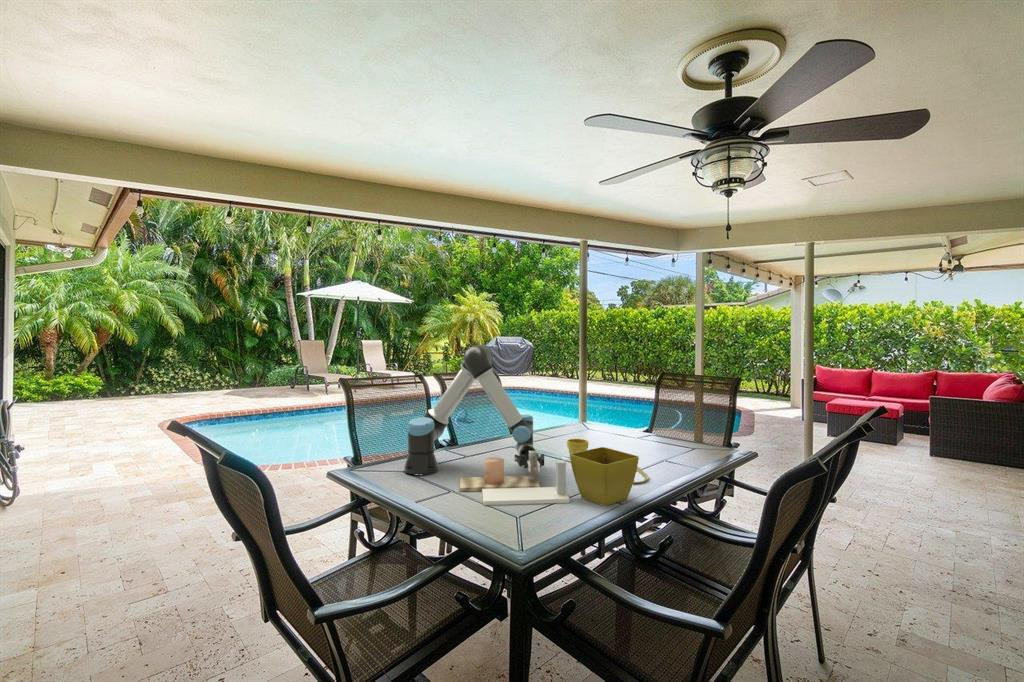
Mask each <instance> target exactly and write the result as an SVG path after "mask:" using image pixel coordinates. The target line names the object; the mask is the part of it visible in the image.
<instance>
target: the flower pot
mask: <svg viewBox="0 0 1024 682" xmlns="http://www.w3.org/2000/svg"><path fill="white" fill-rule="evenodd" d="M569 457H570V459H569V460H570V464H571V468H572V469H571V470H572V473H573V474H572V475H573V476H574V480H575V482H576V483H575V484H576V486H577V490H578V493H579V494H580V496H581V498H582V497H583V498H582V499H585V498H586V499H585V500H587V499H588V500H587V501H590V502H592V501H593V503H595V502H596V504H597V503H598V505H600V504H601V505H600V506H602V505H604V507H606V505H607V506H610V505H614V504H617V503H620V502H623V501H626V500H627V499H628V498H629V495H630V492H631V490H632V487H633V485H634V484H633V482H635V478H636V474H637V471H636V470H637V466H638V465H639V460H640V459H639V458H640V457H639V455H636V454H631V453H628V452H626V451H625V452H624V451H621V450H617V449H614V448H613V449H612V448H609V447H605V446H601V447H595V448H591V449H587V450H585V451H581V452H576V453H572V454H569ZM619 501H620V502H619ZM616 502H617V503H616ZM613 503H614V504H613Z"/></svg>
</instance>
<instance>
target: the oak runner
mask: <svg viewBox="0 0 1024 682" xmlns="http://www.w3.org/2000/svg"><path fill="white" fill-rule="evenodd" d="M537 454H538V452H537V450H535V451H529V462H530V464H531V471H530V472H529V471H528V475H506V476H505V475H504V482H503V483H502V484H496V485H491V484H487V483H485V476H464V477H463V476H460V477H459V478H460V479H459V492H460V493H461V492H463V491H465V492H482V489H498V488H536V487H541V485H540V482H539V481H538V470H537Z"/></svg>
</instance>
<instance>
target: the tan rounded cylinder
mask: <svg viewBox="0 0 1024 682" xmlns="http://www.w3.org/2000/svg"><path fill="white" fill-rule="evenodd" d="M504 476H505V459H504V458H503V457H497V456H496V457H487V458H485V459H484V477H485V483H487V484H491V485H496V484H502V483H503V482H504Z"/></svg>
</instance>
